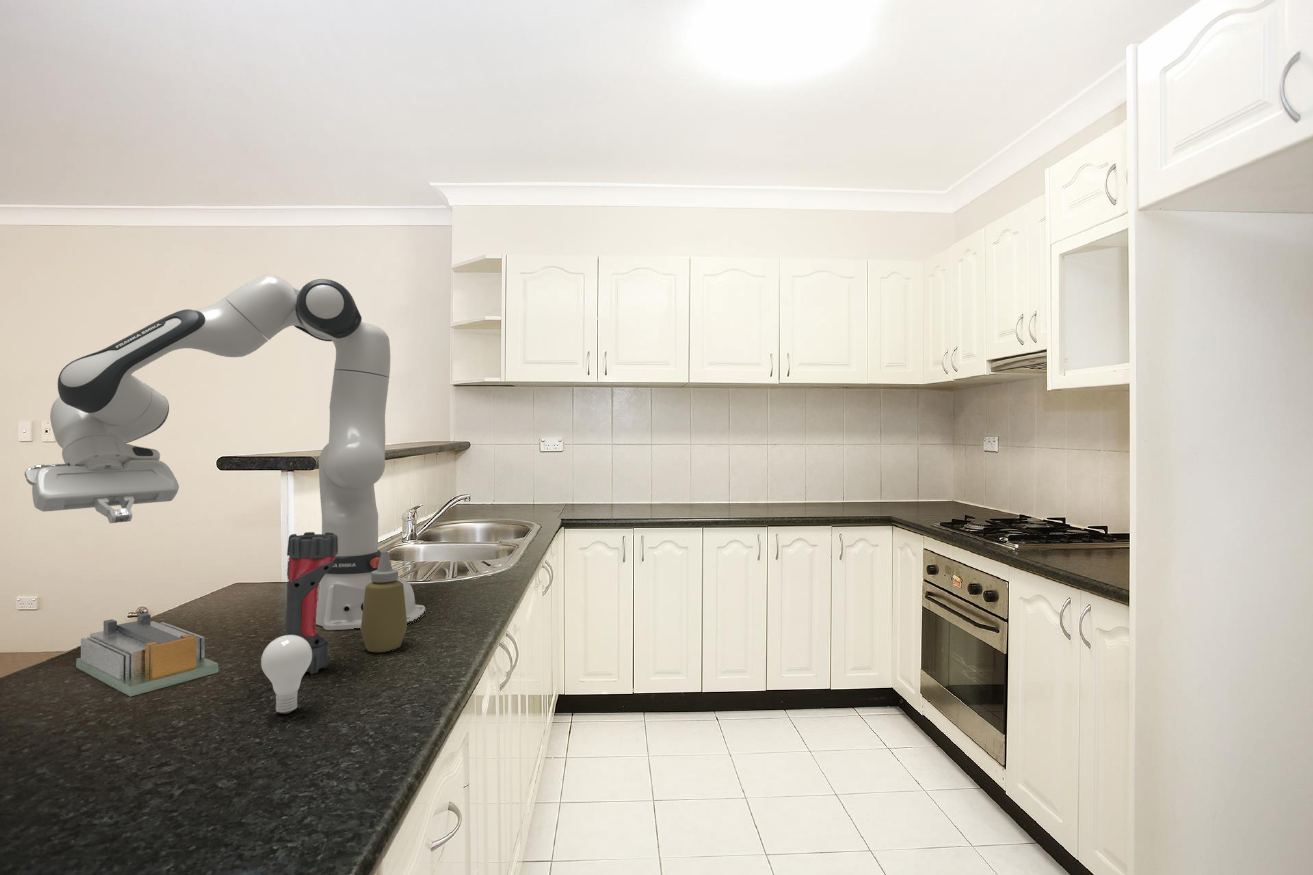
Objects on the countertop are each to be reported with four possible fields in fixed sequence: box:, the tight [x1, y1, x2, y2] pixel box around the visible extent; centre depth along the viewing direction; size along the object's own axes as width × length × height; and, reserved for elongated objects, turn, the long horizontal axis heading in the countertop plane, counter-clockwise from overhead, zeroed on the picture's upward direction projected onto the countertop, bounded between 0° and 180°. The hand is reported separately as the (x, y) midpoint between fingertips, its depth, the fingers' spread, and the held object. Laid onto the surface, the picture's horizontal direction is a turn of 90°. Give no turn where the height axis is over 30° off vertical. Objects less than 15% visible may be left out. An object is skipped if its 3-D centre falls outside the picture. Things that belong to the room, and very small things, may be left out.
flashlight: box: [283, 531, 338, 675], centre depth 109 cm, size 8×8×23 cm
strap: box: [117, 620, 182, 644], centre depth 108 cm, size 18×3×1 cm, turn 58°
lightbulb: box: [260, 634, 312, 715], centre depth 92 cm, size 6×6×11 cm
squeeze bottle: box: [360, 550, 408, 653], centre depth 120 cm, size 8×8×18 cm
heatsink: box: [75, 612, 219, 697], centre depth 108 cm, size 22×12×8 cm, turn 58°
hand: (121, 520), depth 114 cm, fingers closed
